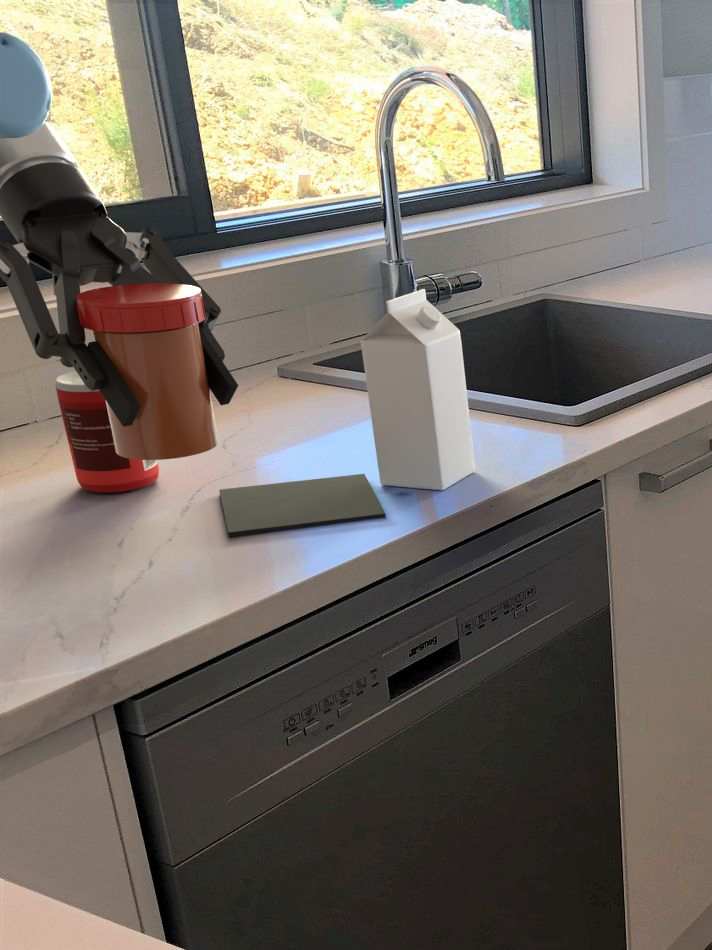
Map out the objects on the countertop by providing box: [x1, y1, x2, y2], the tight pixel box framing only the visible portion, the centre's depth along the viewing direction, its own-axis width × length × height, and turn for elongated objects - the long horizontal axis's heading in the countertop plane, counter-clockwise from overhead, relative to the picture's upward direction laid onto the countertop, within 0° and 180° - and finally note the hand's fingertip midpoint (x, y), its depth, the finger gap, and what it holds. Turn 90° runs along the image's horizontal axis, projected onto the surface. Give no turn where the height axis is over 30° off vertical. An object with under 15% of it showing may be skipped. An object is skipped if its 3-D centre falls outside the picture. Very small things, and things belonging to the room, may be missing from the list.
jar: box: [90, 323, 219, 461], centre depth 117 cm, size 8×8×12 cm
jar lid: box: [76, 283, 206, 333], centre depth 114 cm, size 9×9×2 cm
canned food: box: [54, 370, 160, 494], centre depth 140 cm, size 8×8×11 cm
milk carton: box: [360, 288, 476, 491], centre depth 141 cm, size 7×7×19 cm
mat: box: [218, 473, 387, 538], centre depth 137 cm, size 14×14×1 cm
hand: (182, 405), depth 116 cm, fingers closed on jar, 8 cm apart
